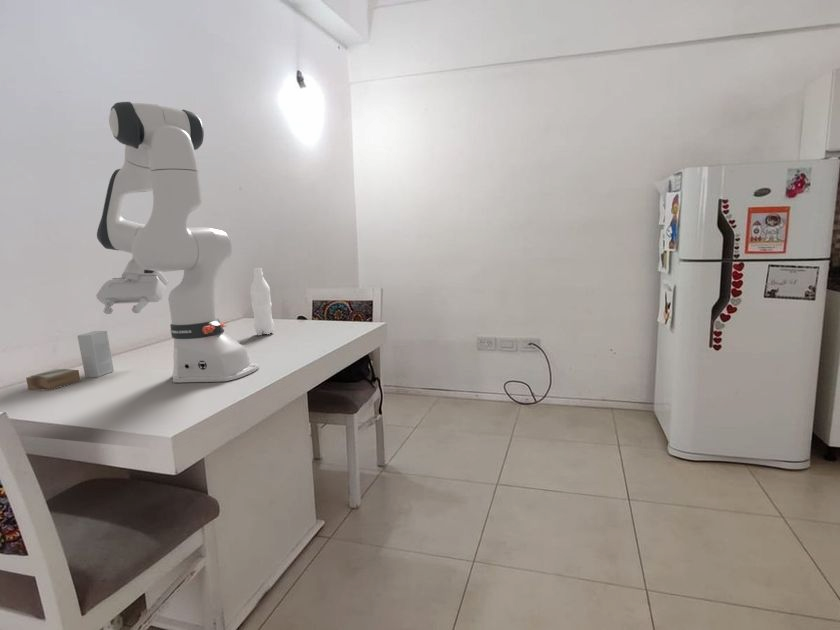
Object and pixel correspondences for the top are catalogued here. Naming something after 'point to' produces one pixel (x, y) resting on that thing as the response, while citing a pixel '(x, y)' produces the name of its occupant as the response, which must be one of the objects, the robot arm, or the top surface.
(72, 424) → the top surface
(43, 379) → the walnut block
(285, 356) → the top surface
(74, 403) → the top surface
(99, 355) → the skincare box
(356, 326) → the top surface
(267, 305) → the water bottle
